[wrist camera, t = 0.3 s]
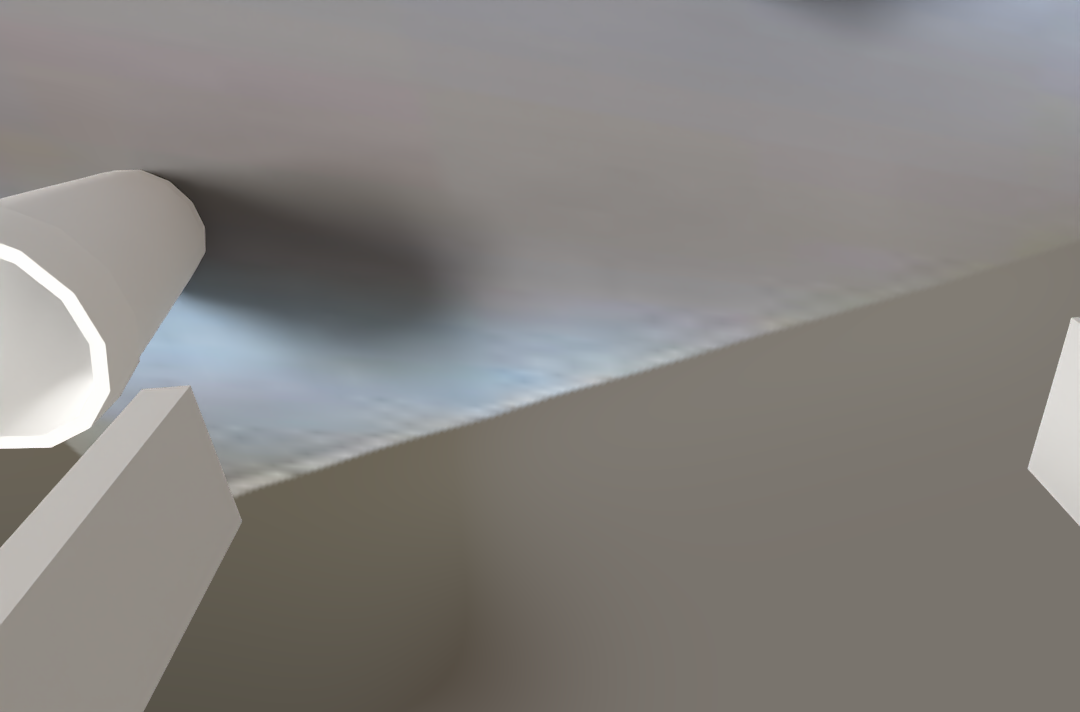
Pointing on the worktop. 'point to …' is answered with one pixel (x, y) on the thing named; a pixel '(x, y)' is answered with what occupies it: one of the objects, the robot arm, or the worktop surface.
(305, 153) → the worktop surface
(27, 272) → the foam cup
